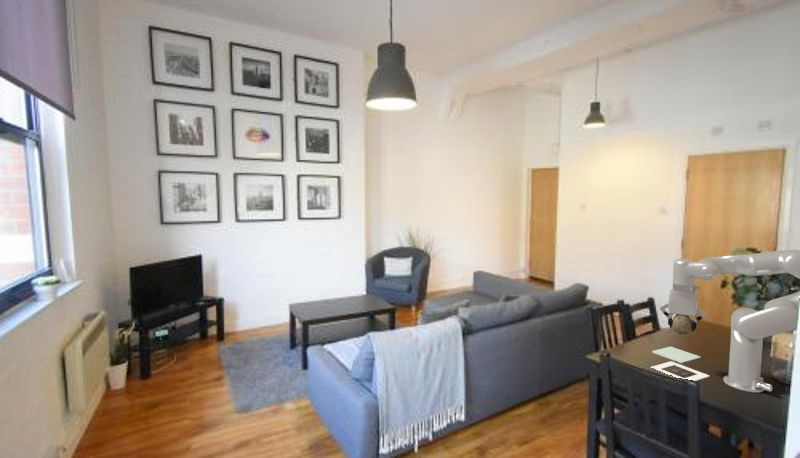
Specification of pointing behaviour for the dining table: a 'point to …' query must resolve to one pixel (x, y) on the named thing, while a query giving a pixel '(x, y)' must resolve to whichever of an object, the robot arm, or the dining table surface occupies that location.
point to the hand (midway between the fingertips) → (681, 328)
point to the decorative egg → (682, 324)
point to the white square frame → (670, 364)
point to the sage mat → (676, 354)
